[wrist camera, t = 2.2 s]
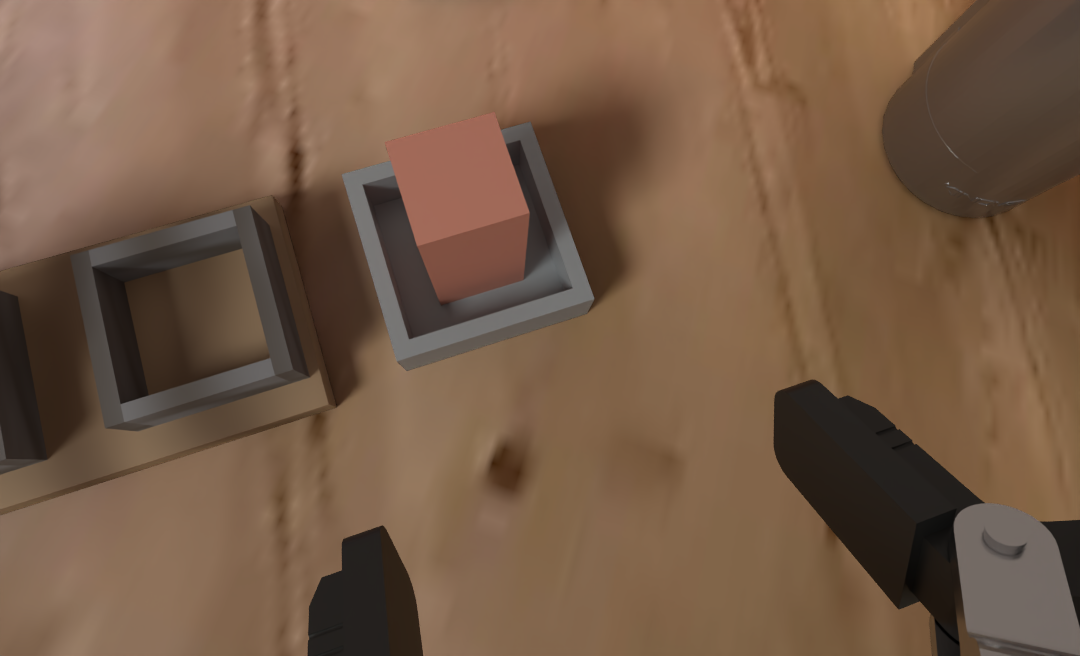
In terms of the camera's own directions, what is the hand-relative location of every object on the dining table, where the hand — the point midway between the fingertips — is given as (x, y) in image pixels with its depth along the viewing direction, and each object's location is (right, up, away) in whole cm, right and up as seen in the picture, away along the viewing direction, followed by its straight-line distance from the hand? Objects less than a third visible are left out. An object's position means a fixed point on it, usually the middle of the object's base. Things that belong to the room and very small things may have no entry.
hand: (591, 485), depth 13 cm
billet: (-5, +7, +21) cm, 22 cm away
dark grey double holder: (-23, +1, +19) cm, 30 cm away
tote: (-5, +7, +21) cm, 23 cm away
